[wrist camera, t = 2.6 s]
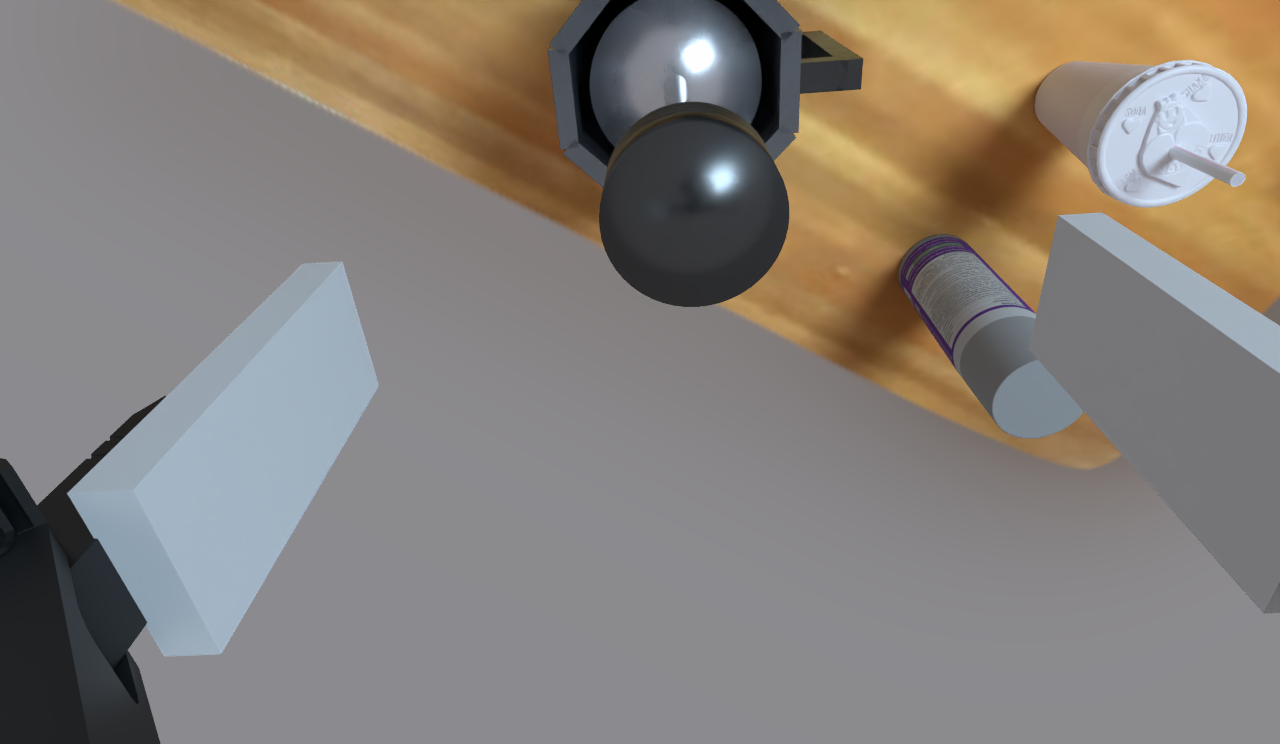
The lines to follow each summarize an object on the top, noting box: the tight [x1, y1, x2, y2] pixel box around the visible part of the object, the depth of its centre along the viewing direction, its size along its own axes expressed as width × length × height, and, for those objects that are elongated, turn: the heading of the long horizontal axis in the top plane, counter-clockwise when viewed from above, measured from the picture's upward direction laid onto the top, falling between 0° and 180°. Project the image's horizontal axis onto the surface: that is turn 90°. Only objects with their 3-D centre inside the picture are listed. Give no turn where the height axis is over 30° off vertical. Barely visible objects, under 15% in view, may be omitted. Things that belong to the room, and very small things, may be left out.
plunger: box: [590, 0, 789, 307], centre depth 25 cm, size 7×7×17 cm
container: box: [899, 234, 1084, 438], centre depth 41 cm, size 5×5×15 cm
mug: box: [548, 0, 863, 187], centre depth 36 cm, size 10×13×12 cm
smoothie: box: [1034, 60, 1247, 207], centre depth 36 cm, size 6×6×14 cm
